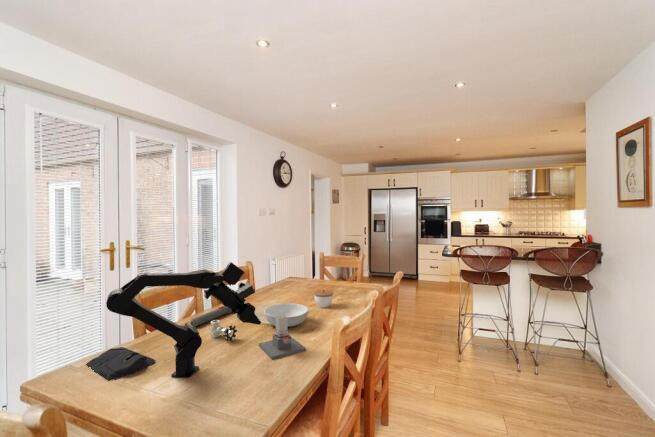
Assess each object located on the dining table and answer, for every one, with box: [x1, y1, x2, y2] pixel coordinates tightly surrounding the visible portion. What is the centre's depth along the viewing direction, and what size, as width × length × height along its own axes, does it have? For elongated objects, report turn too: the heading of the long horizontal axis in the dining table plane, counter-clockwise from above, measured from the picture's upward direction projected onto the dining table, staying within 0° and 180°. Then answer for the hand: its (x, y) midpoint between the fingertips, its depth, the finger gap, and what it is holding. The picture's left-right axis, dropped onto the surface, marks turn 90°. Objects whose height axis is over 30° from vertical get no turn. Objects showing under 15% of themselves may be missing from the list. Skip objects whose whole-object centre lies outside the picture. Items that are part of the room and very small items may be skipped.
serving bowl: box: [263, 302, 309, 328], centre depth 151 cm, size 21×21×7 cm
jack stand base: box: [258, 333, 307, 360], centre depth 124 cm, size 14×14×5 cm
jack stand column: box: [275, 315, 289, 338], centre depth 124 cm, size 4×4×11 cm
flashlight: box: [189, 305, 233, 328], centre depth 159 cm, size 5×28×5 cm, turn 156°
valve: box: [209, 319, 238, 342], centre depth 135 cm, size 7×7×12 cm
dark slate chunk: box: [85, 346, 156, 382], centre depth 112 cm, size 15×22×5 cm
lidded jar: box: [313, 289, 334, 309], centre depth 179 cm, size 11×11×9 cm
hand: (255, 319), depth 119 cm, fingers open, 9 cm apart
